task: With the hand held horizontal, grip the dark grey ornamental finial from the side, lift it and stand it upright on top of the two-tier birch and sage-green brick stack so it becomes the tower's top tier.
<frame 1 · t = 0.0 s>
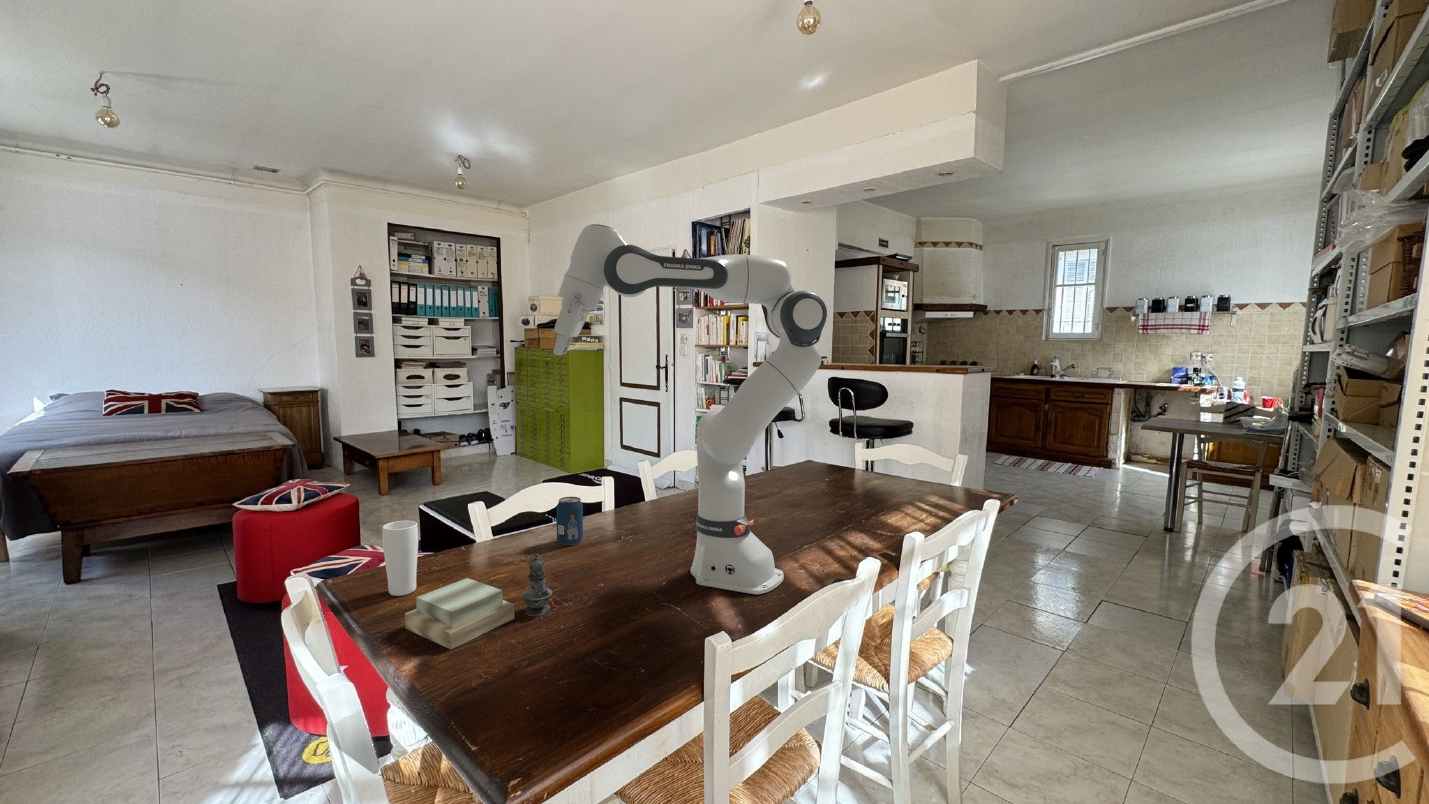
hand: (559, 354, 130), 52 cm above the table, tool tilted 20°, fingers open, 8 cm apart
brick tower base: (460, 623, 113), on the table
drinking glass: (402, 592, 127), on the table
soda can: (570, 542, 160), on the table
dark grey ornamental finial: (537, 611, 120), on the table
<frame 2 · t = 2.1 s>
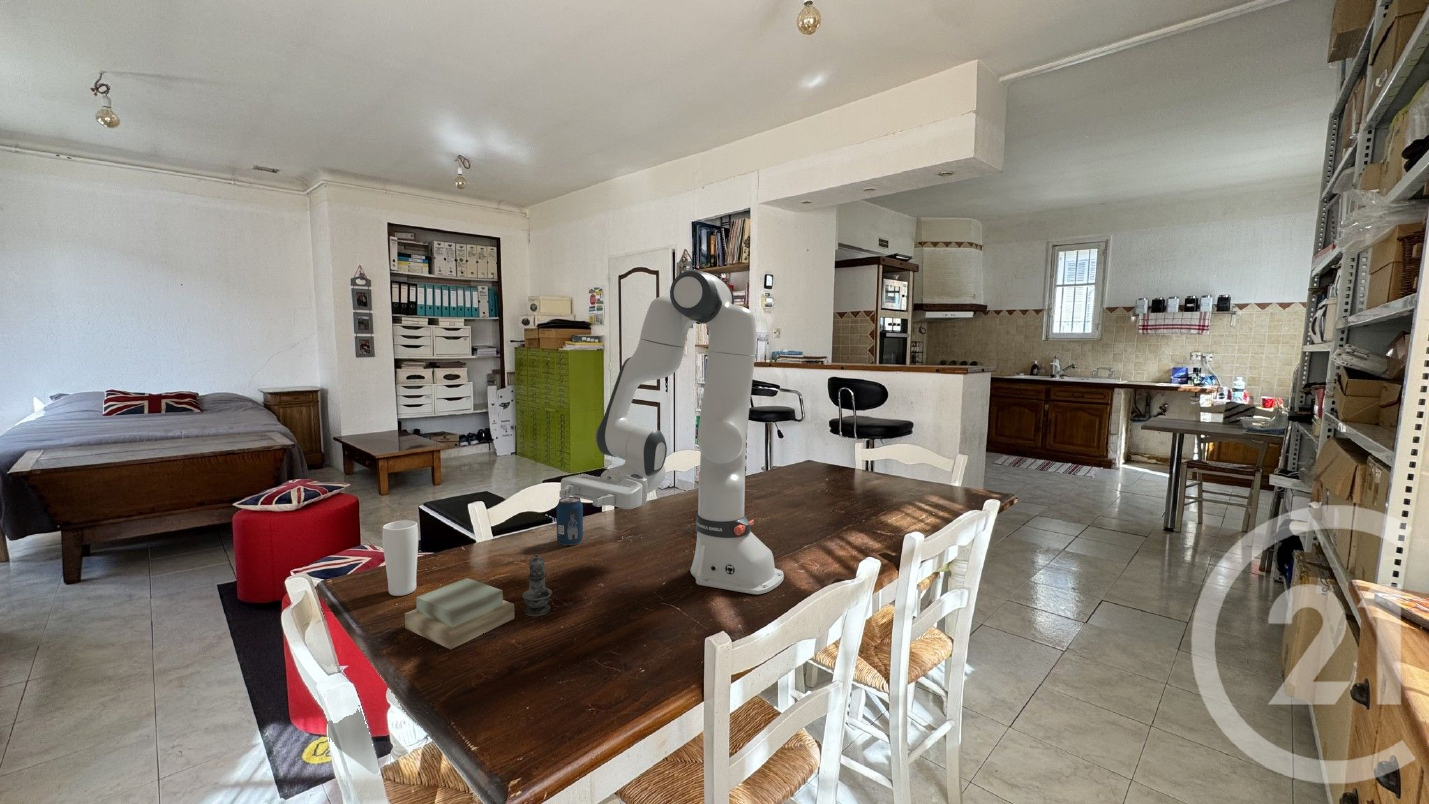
hand: (578, 498, 127), 21 cm above the table, tool horizontal, fingers open, 8 cm apart
nothing on the table moved.
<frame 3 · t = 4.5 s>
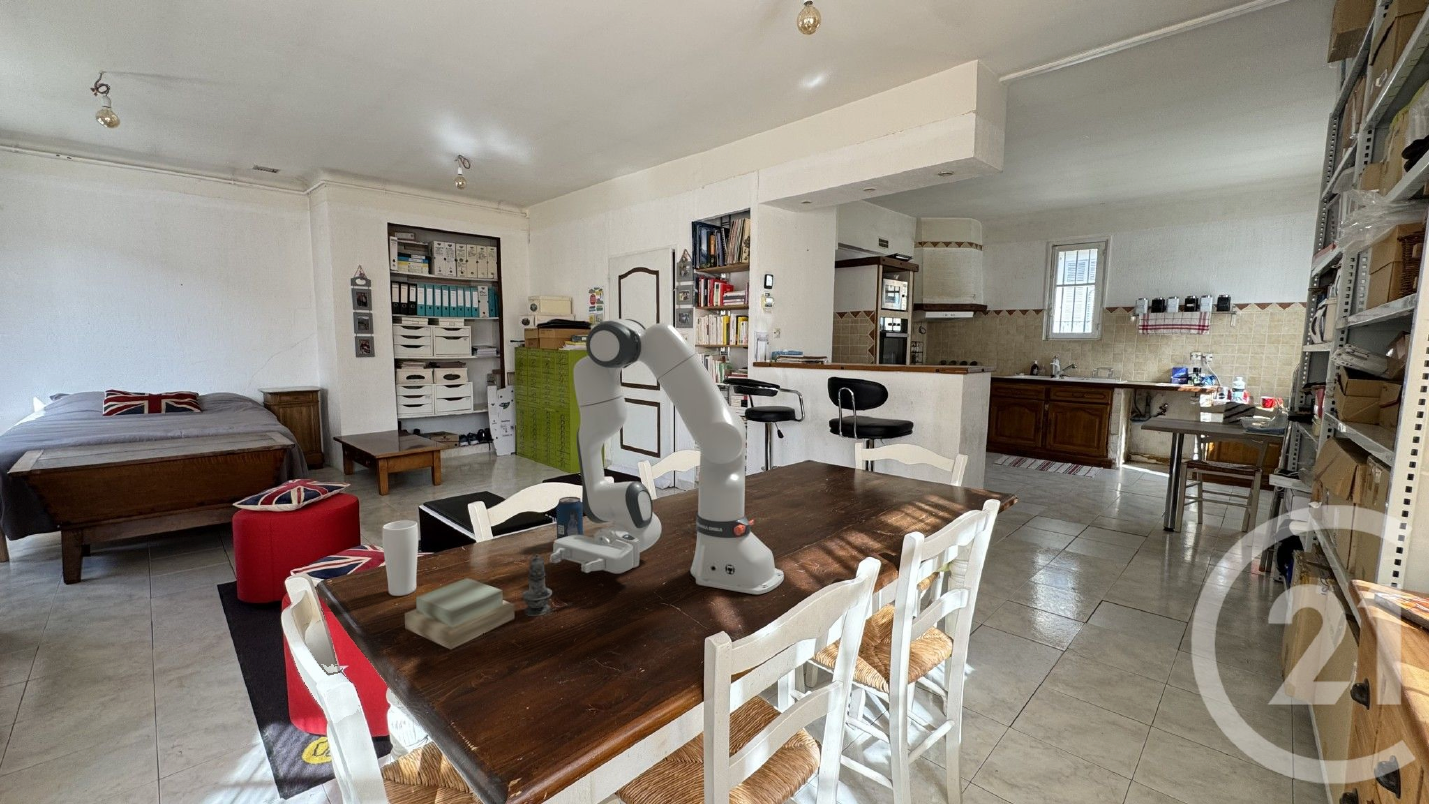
hand: (567, 563, 126), 7 cm above the table, tool horizontal, fingers open, 8 cm apart
nothing on the table moved.
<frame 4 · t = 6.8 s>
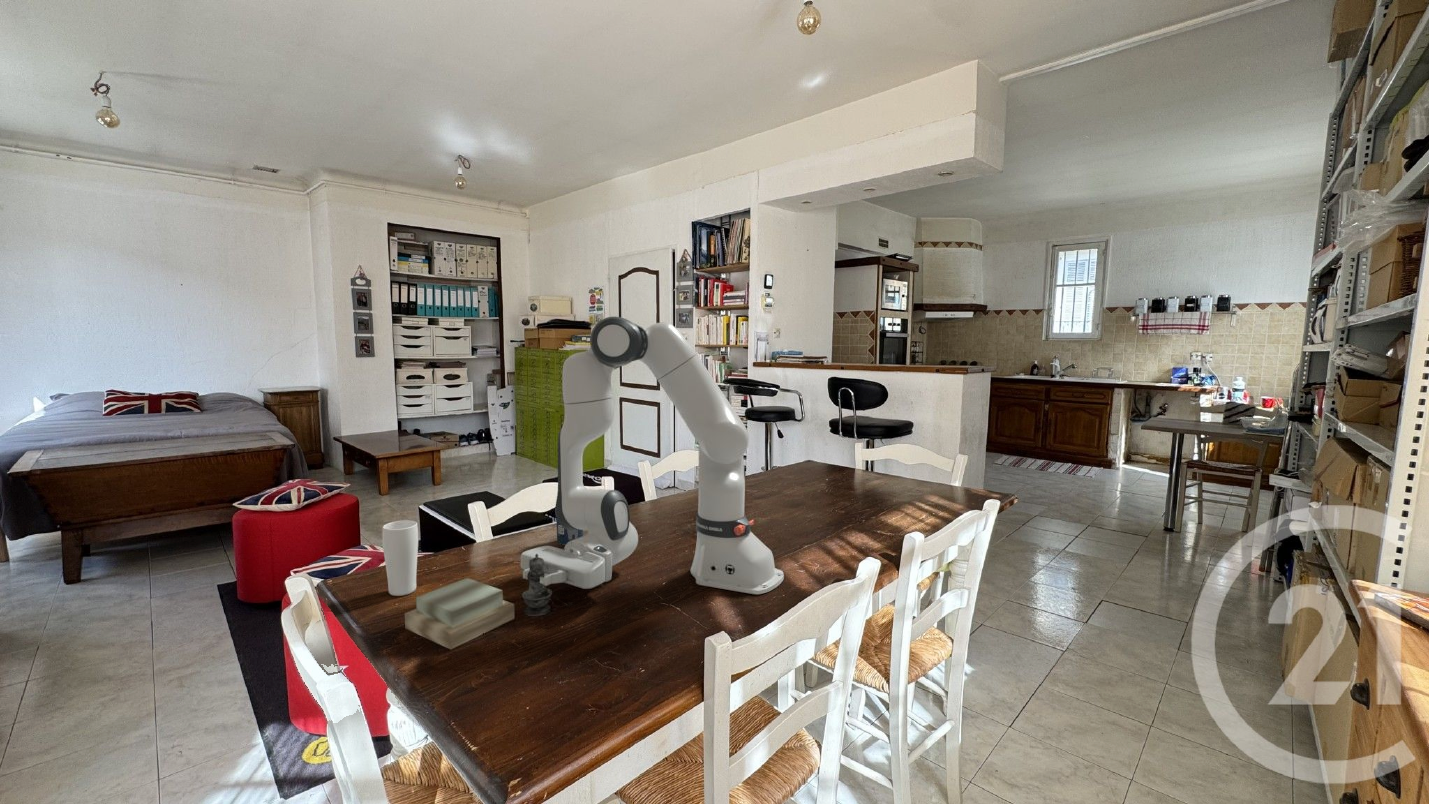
hand: (533, 578, 118), 7 cm above the table, tool horizontal, fingers closed on dark grey ornamental finial, 4 cm apart
dark grey ornamental finial: (537, 611, 120), on the table, touching gripper
everything else where it was.
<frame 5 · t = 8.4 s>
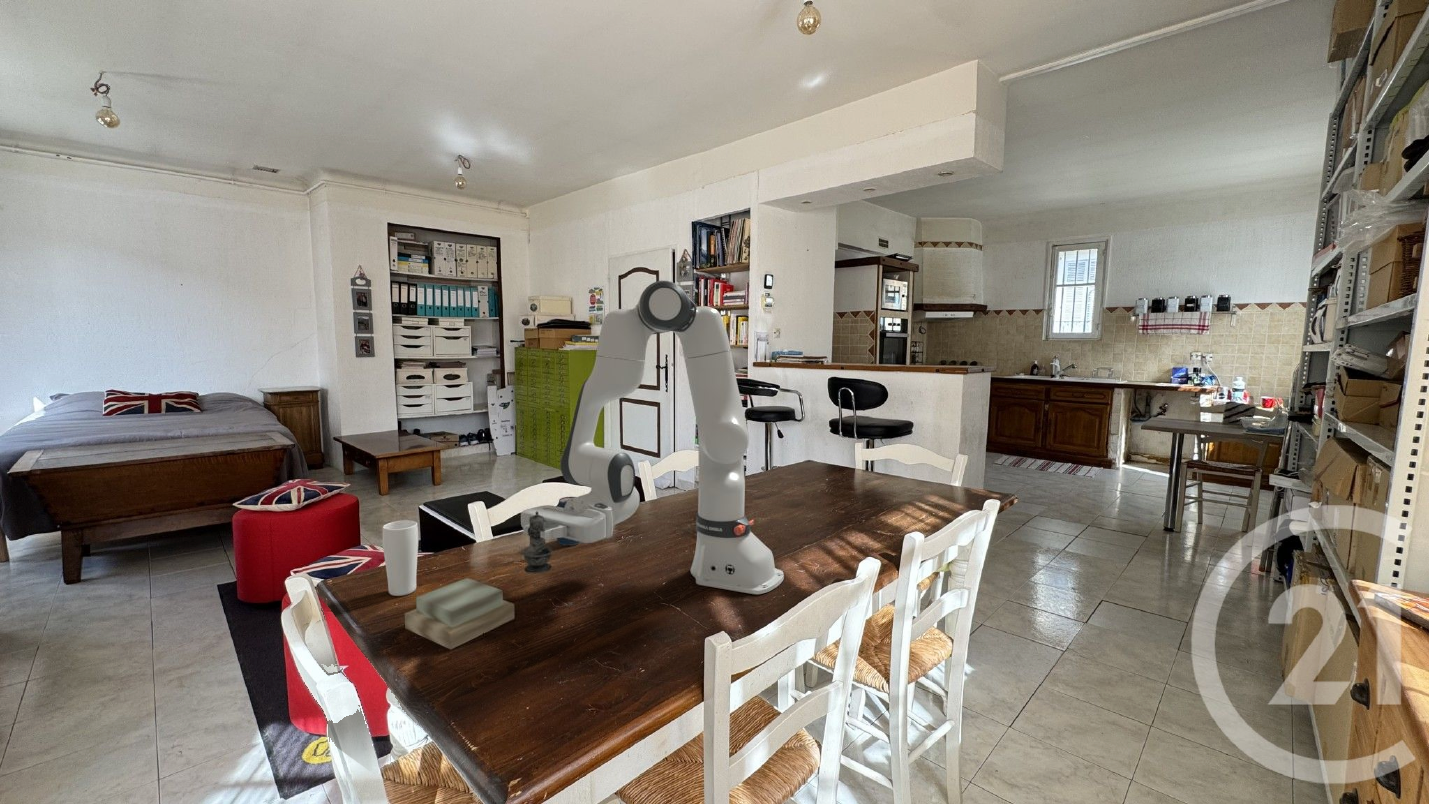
hand: (534, 533, 117), 16 cm above the table, tool horizontal, fingers closed on dark grey ornamental finial, 4 cm apart
dark grey ornamental finial: (538, 569, 119), point 9 cm above the table, touching gripper
everything else where it was.
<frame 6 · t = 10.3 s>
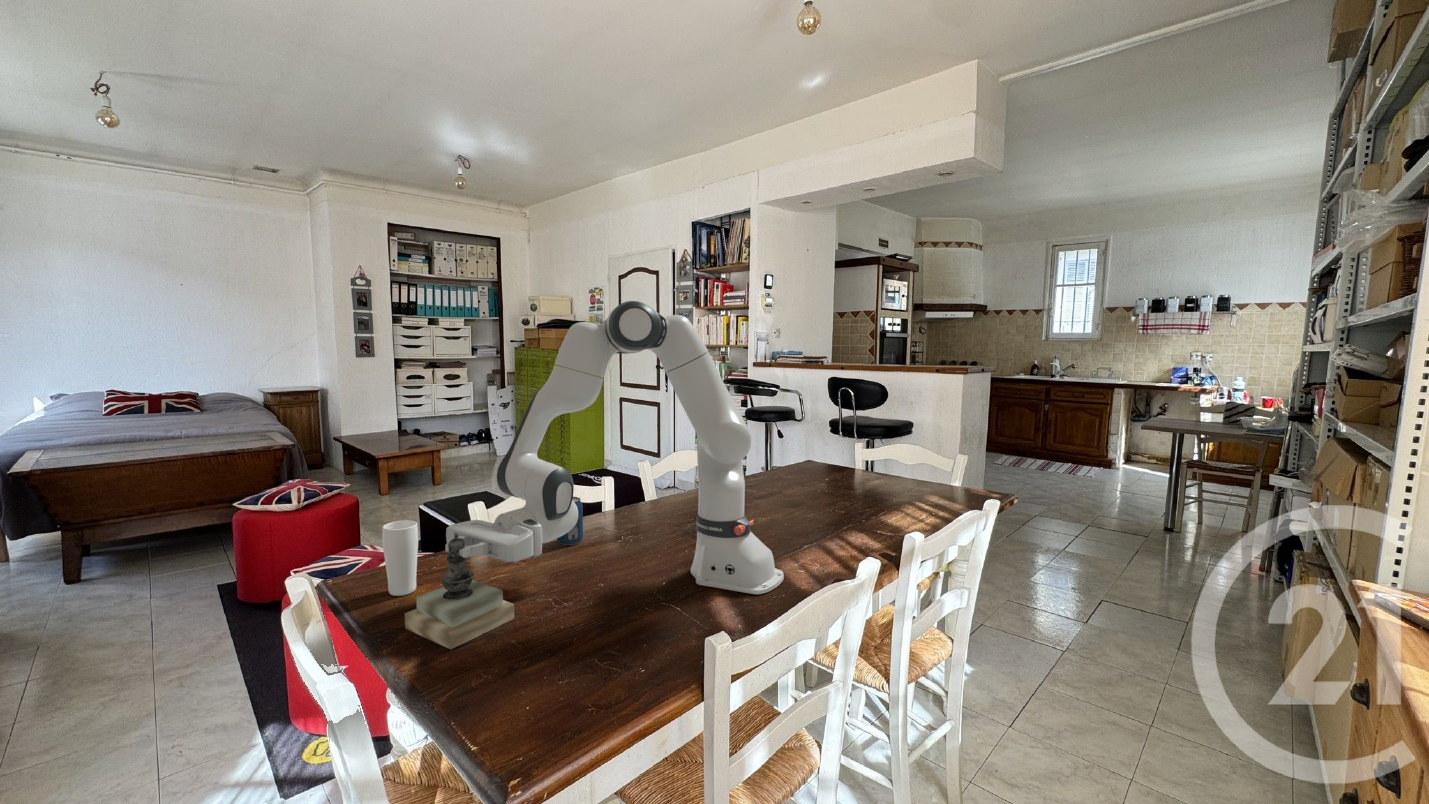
hand: (454, 551, 111), 15 cm above the table, tool horizontal, fingers closed on dark grey ornamental finial, 3 cm apart
dark grey ornamental finial: (458, 595, 113), point 6 cm above the table, touching brick tower base, gripper
everything else where it was.
when the fingers open (15 cm above the table, at t = 10.4 s): dark grey ornamental finial stays where it is, resting on brick tower base.
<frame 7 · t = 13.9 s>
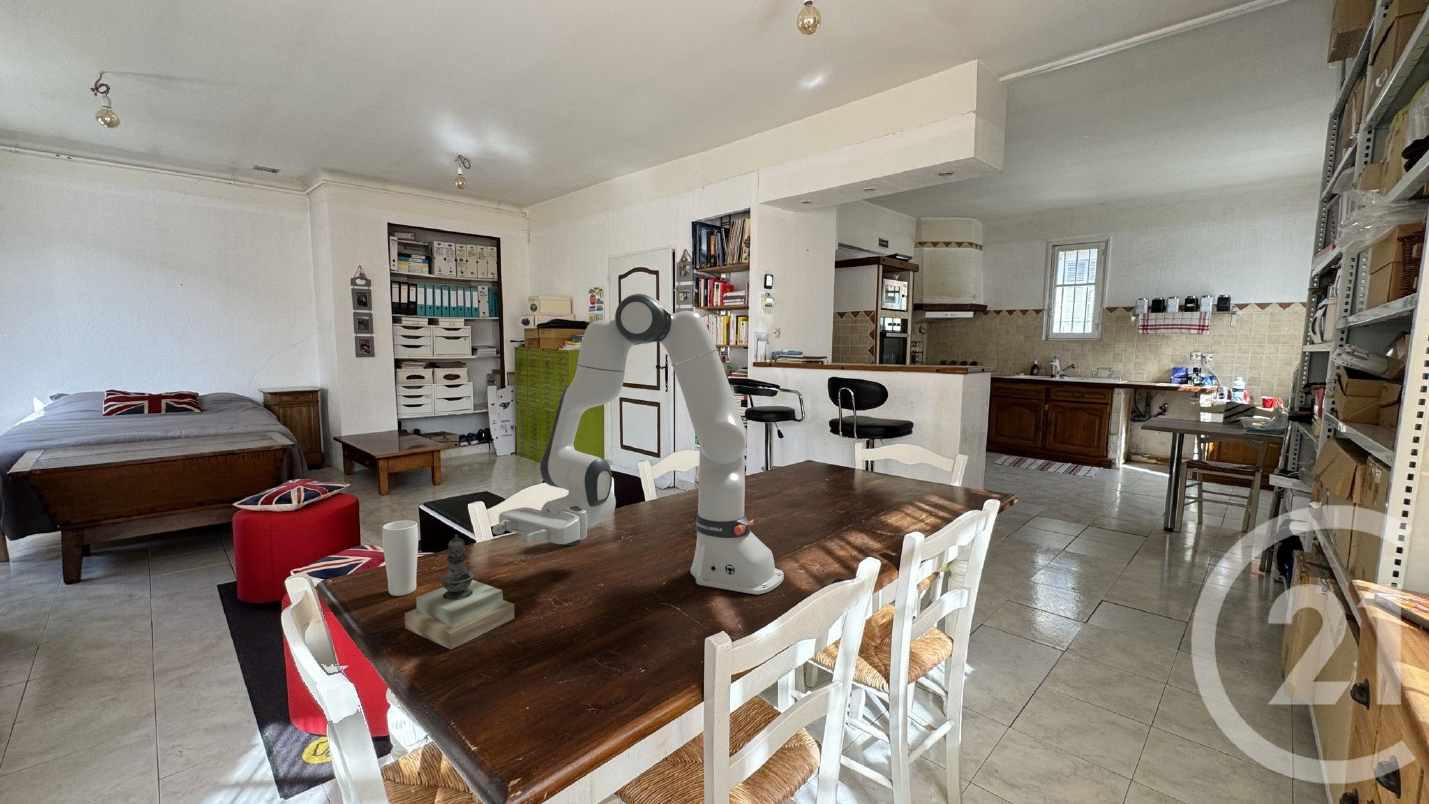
hand: (509, 534, 122), 14 cm above the table, tool horizontal, fingers open, 8 cm apart
dark grey ornamental finial: (458, 595, 113), point 6 cm above the table, touching brick tower base
everything else where it was.
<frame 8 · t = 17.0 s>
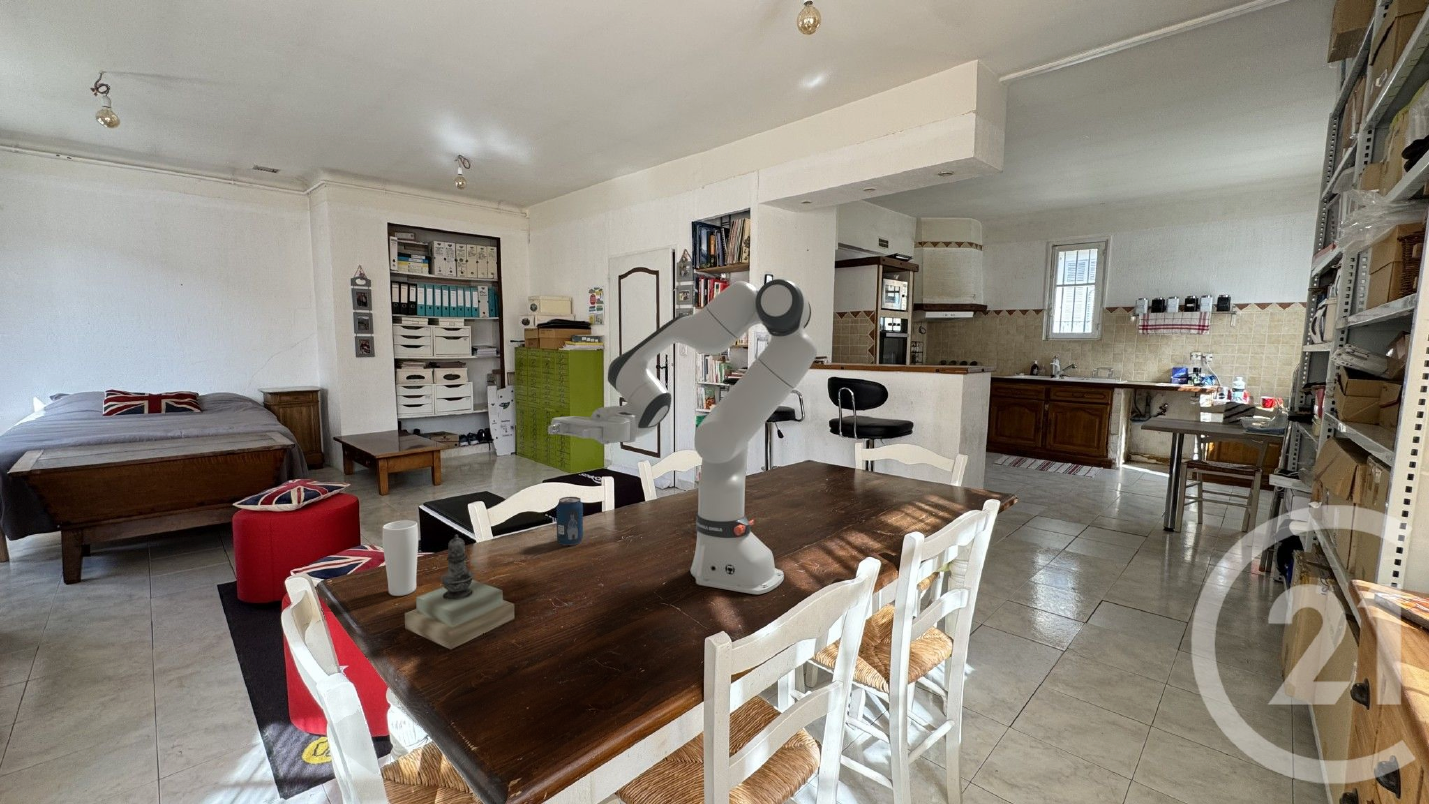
hand: (565, 432, 128), 35 cm above the table, tool horizontal, fingers open, 8 cm apart
nothing on the table moved.
at the end: dark grey ornamental finial 0.4 cm off-centre on the brick tower base, point 5.8 cm above the brick tower base's base; dark grey ornamental finial tilted 0°; the gripper is holding nothing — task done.
